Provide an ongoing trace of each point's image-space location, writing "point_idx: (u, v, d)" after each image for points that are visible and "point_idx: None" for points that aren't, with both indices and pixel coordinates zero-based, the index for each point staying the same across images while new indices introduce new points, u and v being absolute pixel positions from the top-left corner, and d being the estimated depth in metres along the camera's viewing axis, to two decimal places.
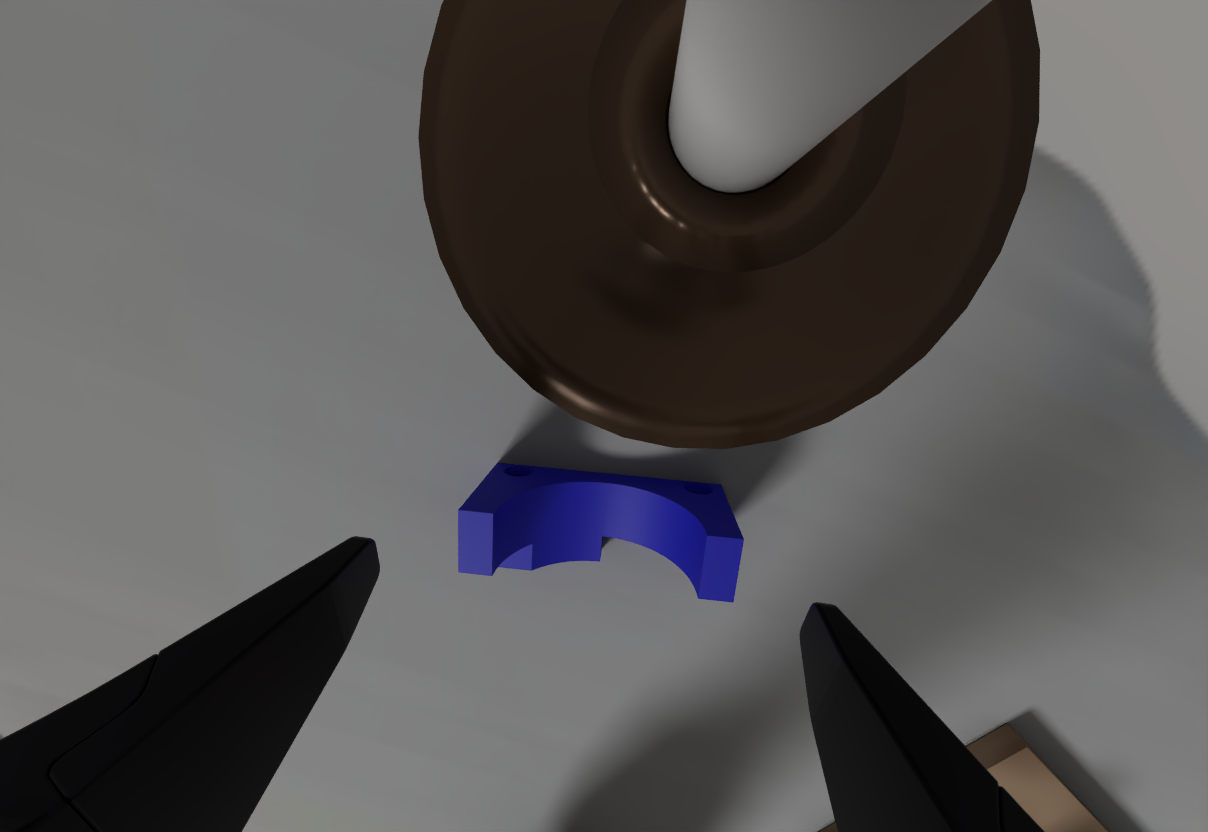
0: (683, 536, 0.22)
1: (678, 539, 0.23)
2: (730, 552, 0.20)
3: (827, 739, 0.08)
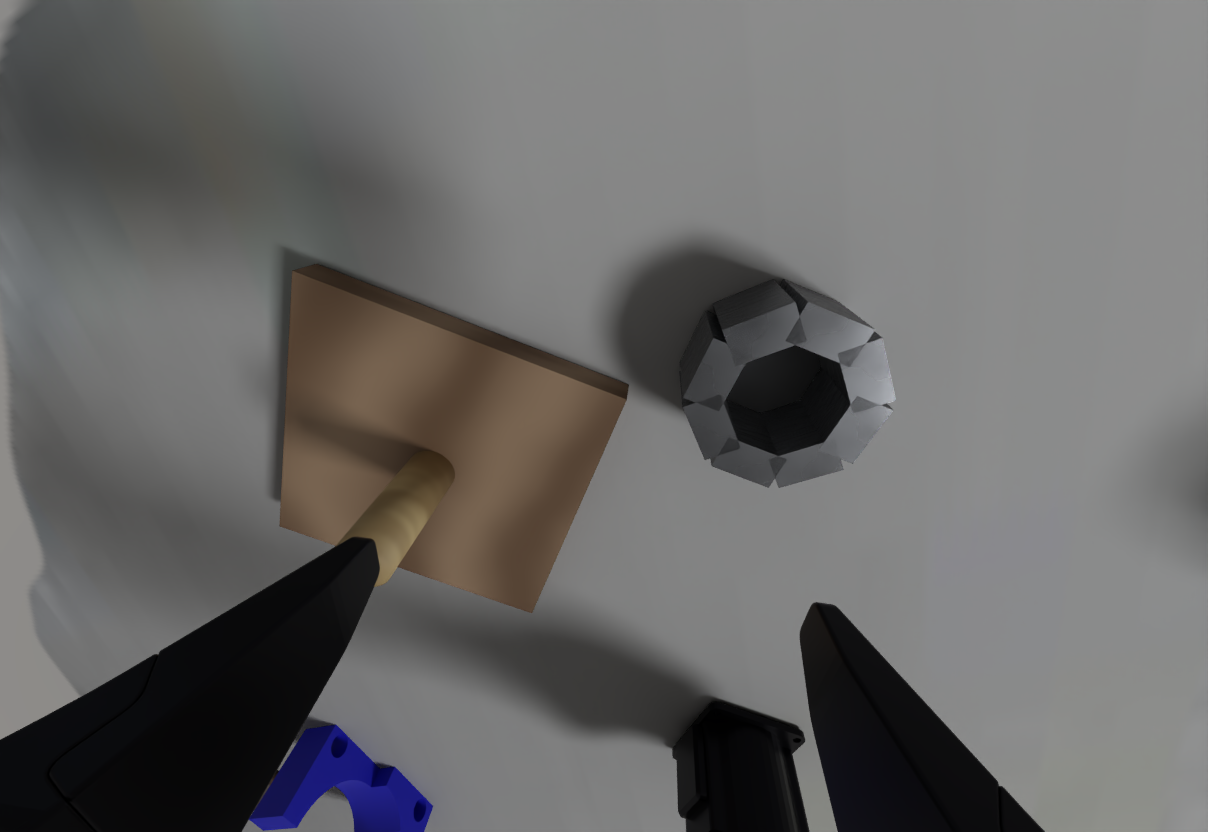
0: None
1: None
2: (260, 821, 0.32)
3: (827, 739, 0.08)
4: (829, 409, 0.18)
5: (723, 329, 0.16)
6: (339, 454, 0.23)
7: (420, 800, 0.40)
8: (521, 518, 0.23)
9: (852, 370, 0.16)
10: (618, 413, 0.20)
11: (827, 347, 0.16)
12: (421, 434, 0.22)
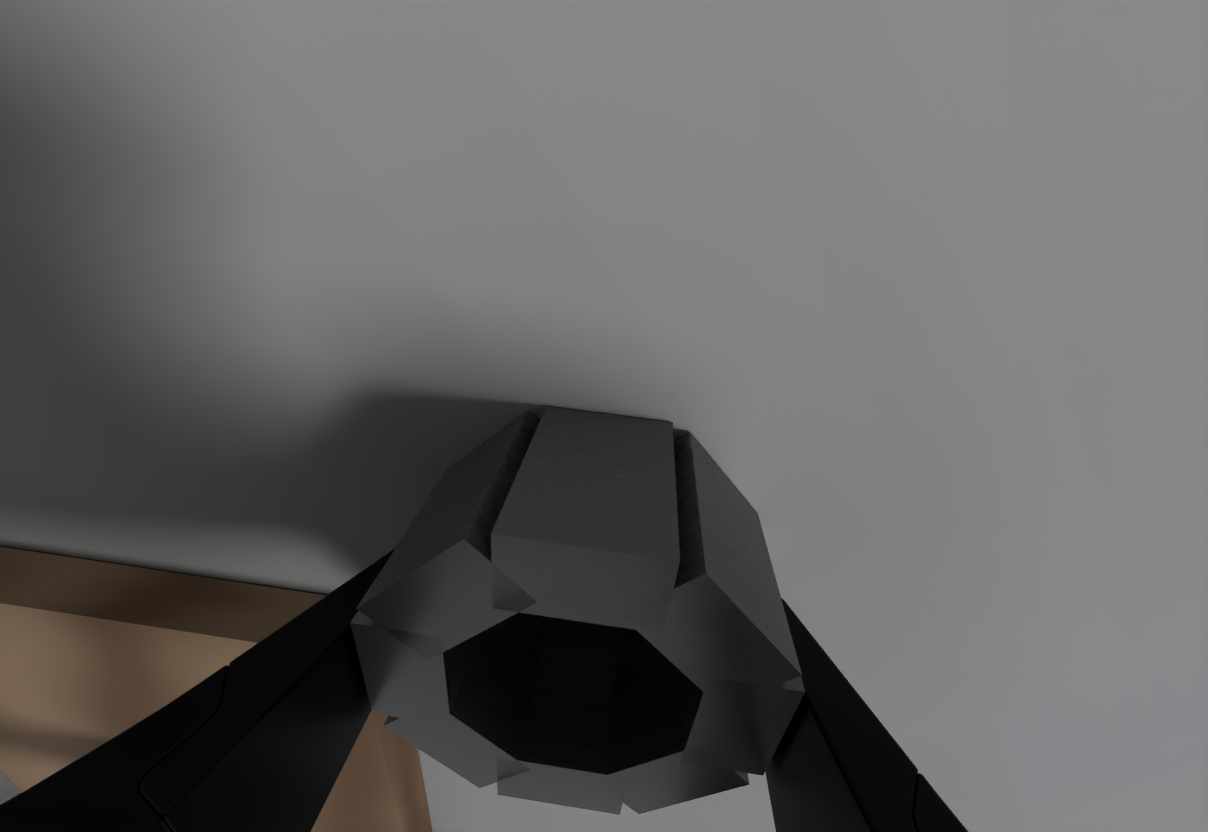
0: None
1: None
2: None
3: None
4: None
5: (359, 605, 0.07)
6: (54, 760, 0.15)
7: None
8: (326, 805, 0.15)
9: (672, 638, 0.07)
10: None
11: (590, 608, 0.07)
12: None
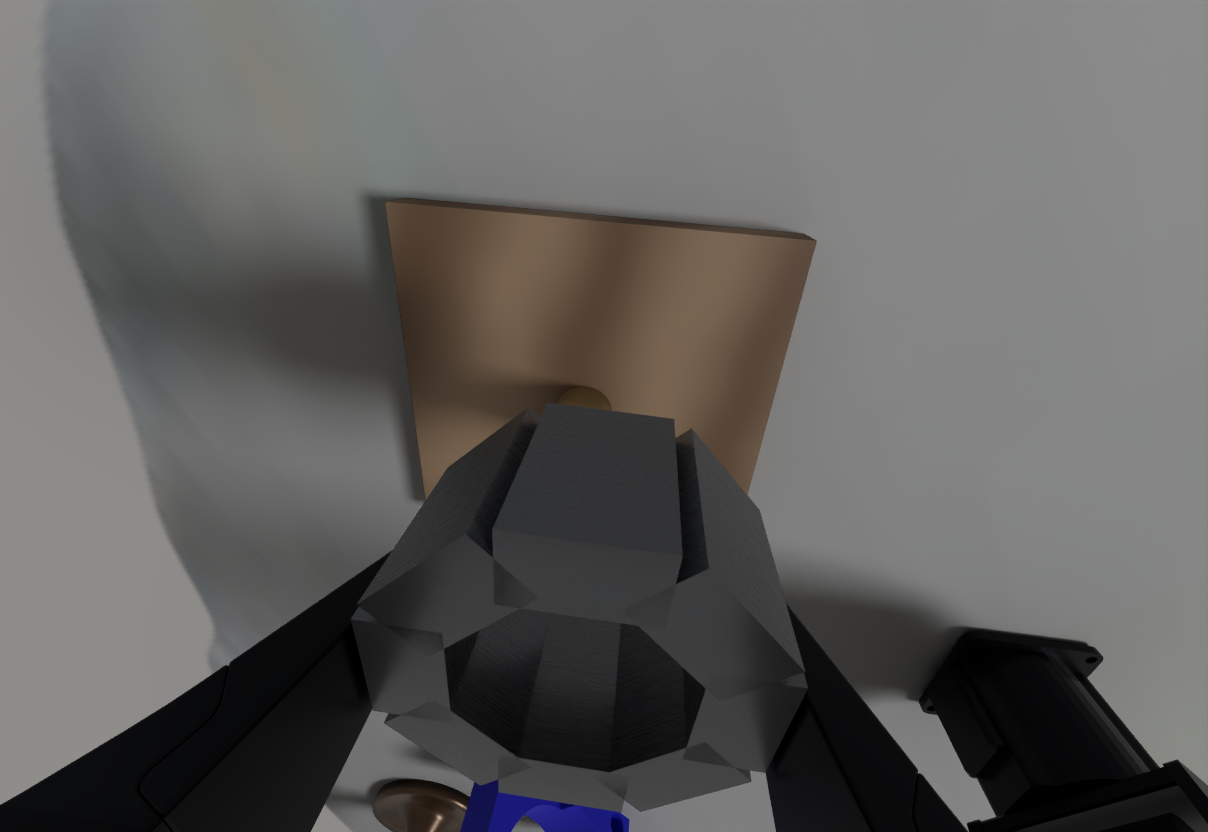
0: None
1: None
2: None
3: None
4: None
5: (360, 601, 0.07)
6: (476, 421, 0.20)
7: (614, 815, 0.37)
8: None
9: (674, 634, 0.07)
10: (807, 264, 0.15)
11: (592, 603, 0.07)
12: (565, 367, 0.18)
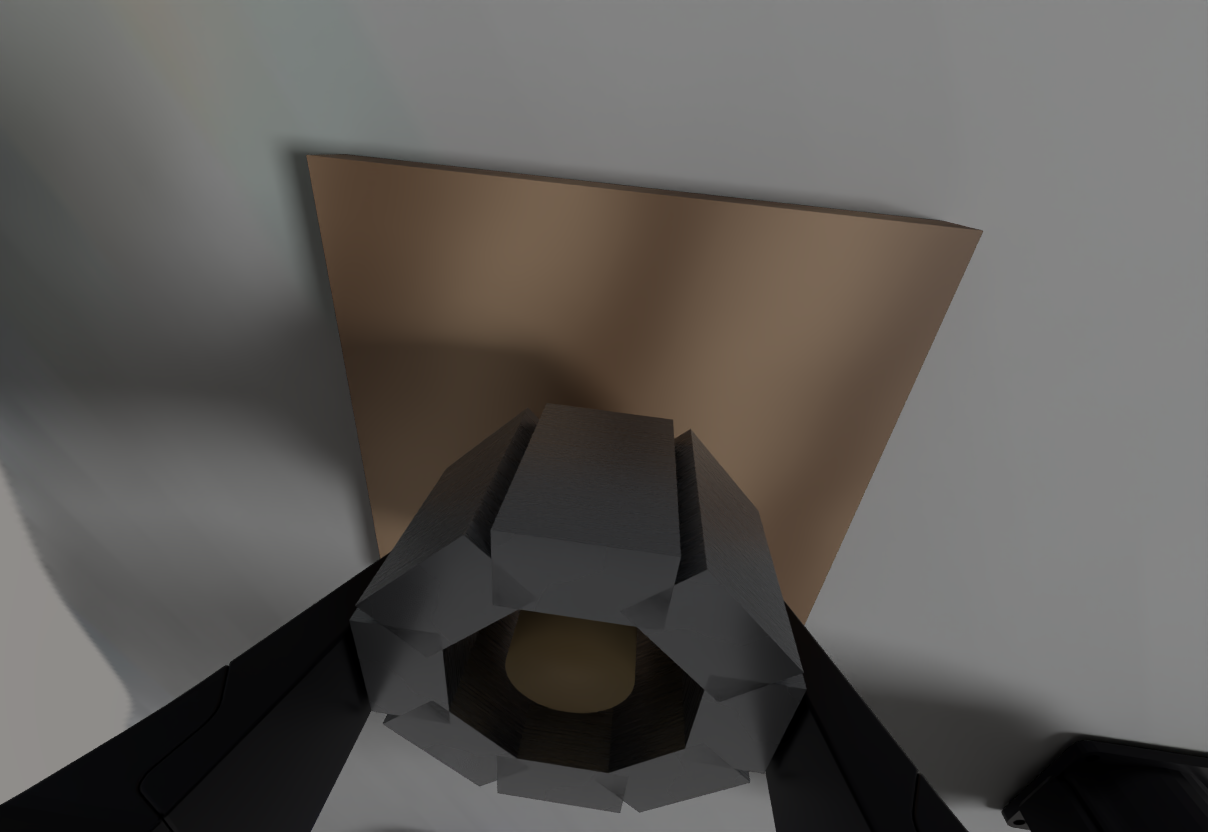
0: None
1: None
2: None
3: None
4: None
5: (358, 602, 0.07)
6: None
7: None
8: (765, 516, 0.14)
9: (673, 635, 0.07)
10: (962, 267, 0.10)
11: (590, 605, 0.07)
12: None
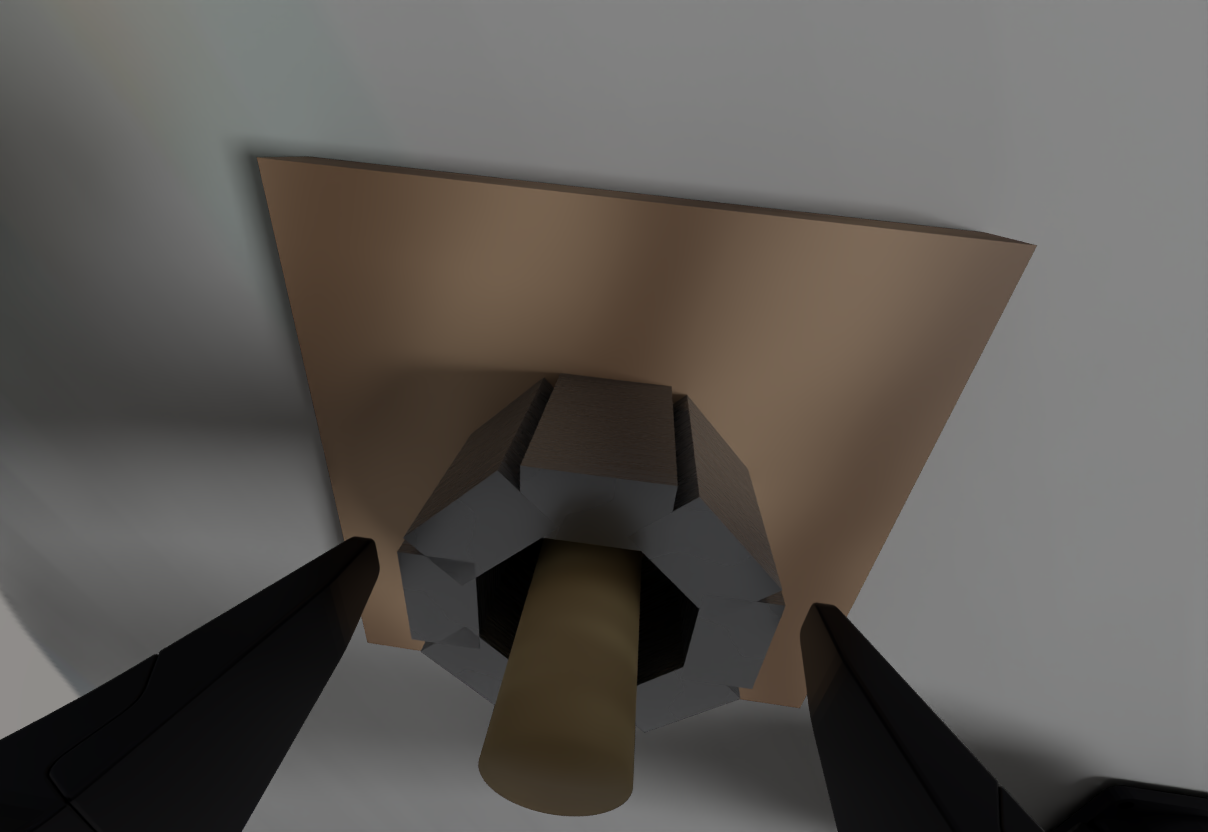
0: None
1: None
2: None
3: (827, 739, 0.08)
4: None
5: (405, 535, 0.08)
6: None
7: None
8: (778, 557, 0.12)
9: (672, 558, 0.08)
10: (1010, 287, 0.09)
11: (602, 531, 0.08)
12: None
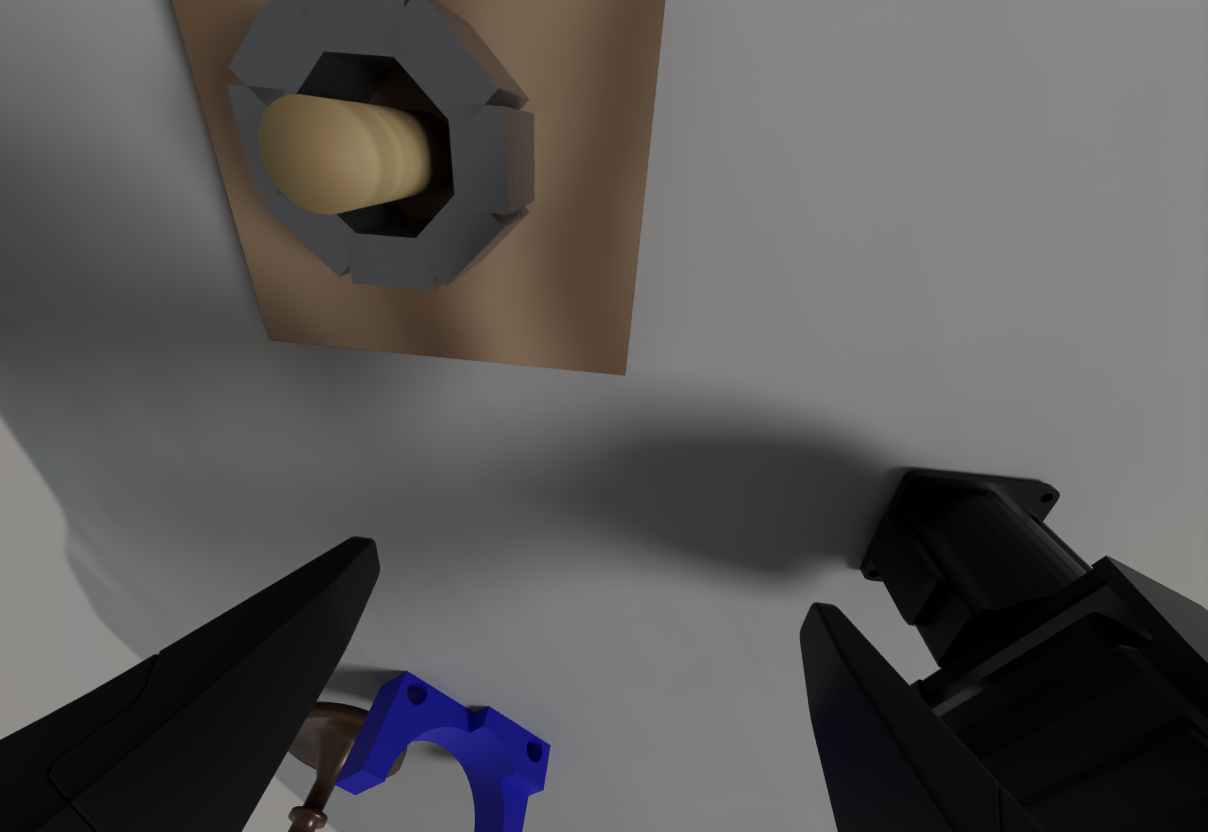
0: None
1: None
2: (346, 784, 0.28)
3: (827, 739, 0.08)
4: None
5: (230, 66, 0.11)
6: None
7: (533, 740, 0.35)
8: (571, 196, 0.16)
9: (416, 62, 0.11)
10: None
11: (363, 37, 0.11)
12: (391, 82, 0.14)
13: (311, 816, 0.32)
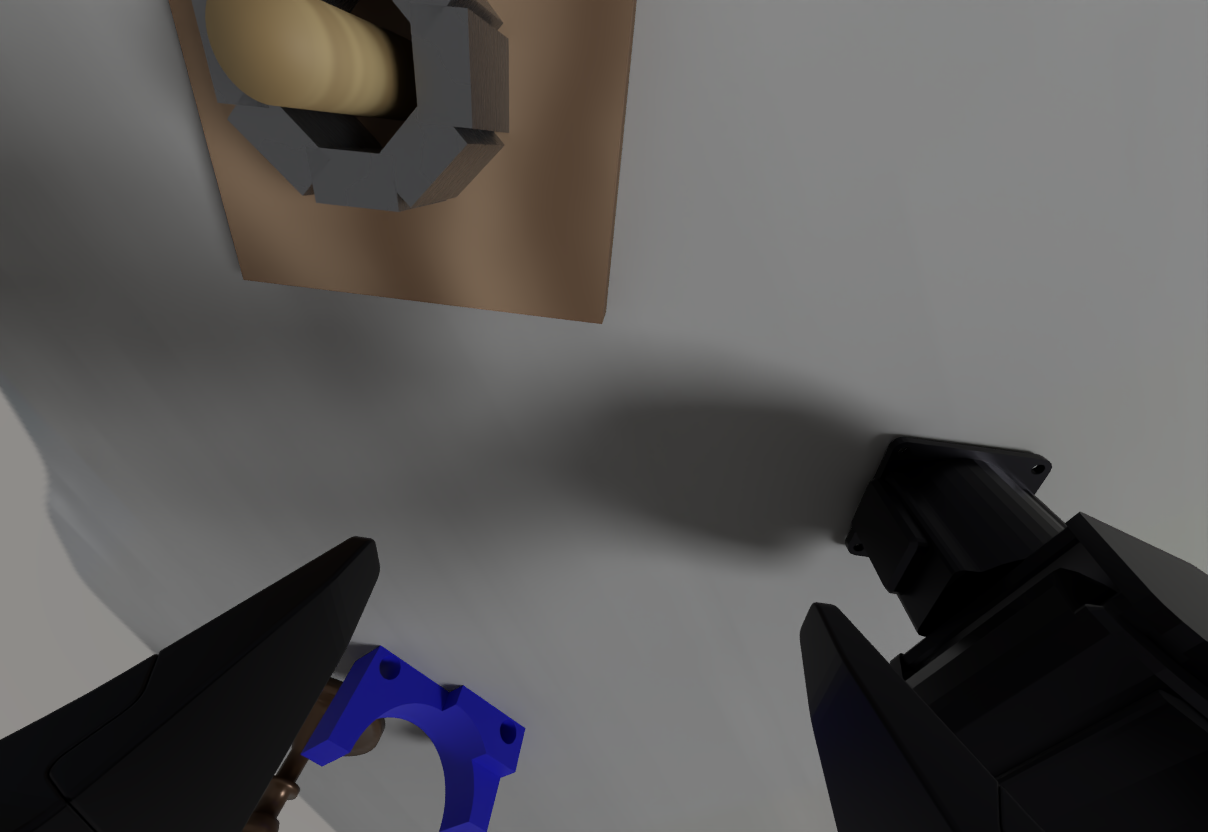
0: None
1: None
2: (312, 754, 0.28)
3: (827, 739, 0.08)
4: None
5: None
6: None
7: (508, 722, 0.34)
8: (546, 129, 0.15)
9: None
10: None
11: None
12: (365, 3, 0.14)
13: (283, 786, 0.31)
